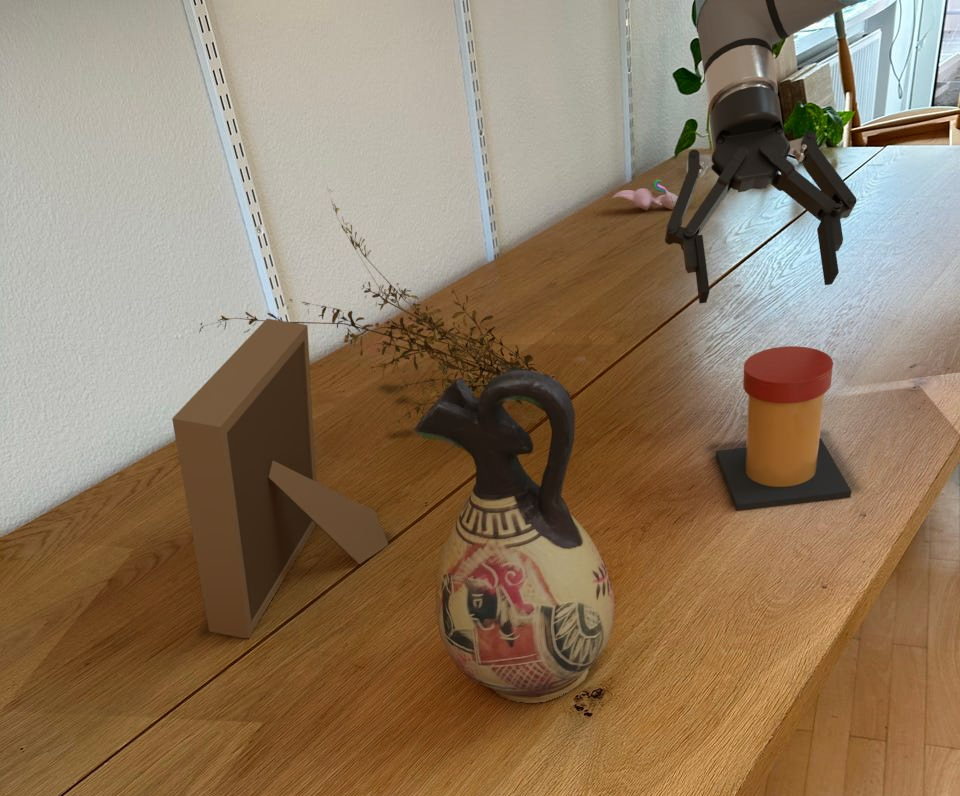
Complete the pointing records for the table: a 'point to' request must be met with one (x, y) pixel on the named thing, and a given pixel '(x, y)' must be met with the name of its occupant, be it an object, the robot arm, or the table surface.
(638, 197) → the pink toy figure
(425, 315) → the dried plant
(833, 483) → the mat
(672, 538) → the table surface
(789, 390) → the lid
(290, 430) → the photo frame
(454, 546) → the ceramic jug
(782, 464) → the jar
